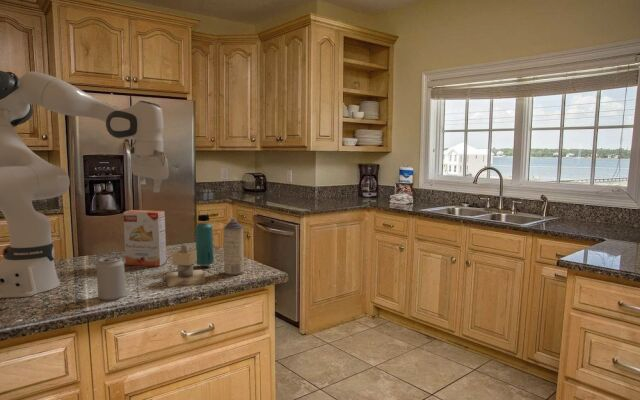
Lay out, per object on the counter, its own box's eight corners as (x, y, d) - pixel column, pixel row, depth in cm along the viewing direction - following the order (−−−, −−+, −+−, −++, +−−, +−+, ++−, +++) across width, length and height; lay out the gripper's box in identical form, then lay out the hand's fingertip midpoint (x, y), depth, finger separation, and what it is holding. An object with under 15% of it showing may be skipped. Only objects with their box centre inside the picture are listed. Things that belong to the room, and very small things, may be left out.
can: (106, 293, 136) (104, 255, 135) (130, 293, 136) (128, 255, 134) (93, 301, 129) (90, 261, 127) (118, 301, 128) (116, 261, 127)
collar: (172, 264, 147) (172, 253, 146) (180, 260, 153) (180, 248, 152) (189, 265, 146) (189, 253, 146) (196, 260, 152) (196, 249, 151)
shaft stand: (167, 286, 142) (166, 250, 141) (166, 276, 154) (165, 243, 152) (205, 283, 147) (204, 247, 145) (202, 273, 158) (201, 240, 156)
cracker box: (124, 265, 168) (122, 211, 165) (133, 261, 173) (131, 209, 171) (159, 267, 166) (157, 212, 163) (167, 263, 172) (165, 210, 169)
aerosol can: (247, 272, 159) (246, 218, 157) (232, 276, 154) (231, 220, 152) (235, 269, 164) (235, 216, 161) (220, 273, 158) (219, 218, 156)
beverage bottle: (209, 269, 163) (208, 216, 161) (192, 268, 164) (191, 215, 162) (216, 265, 169) (215, 213, 167) (201, 264, 171) (199, 213, 168)
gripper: (173, 151, 144) (173, 193, 146) (145, 149, 158) (145, 187, 160) (155, 151, 139) (155, 194, 141) (127, 148, 153) (127, 187, 155)
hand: (149, 190), depth 150 cm, fingers open, 8 cm apart
